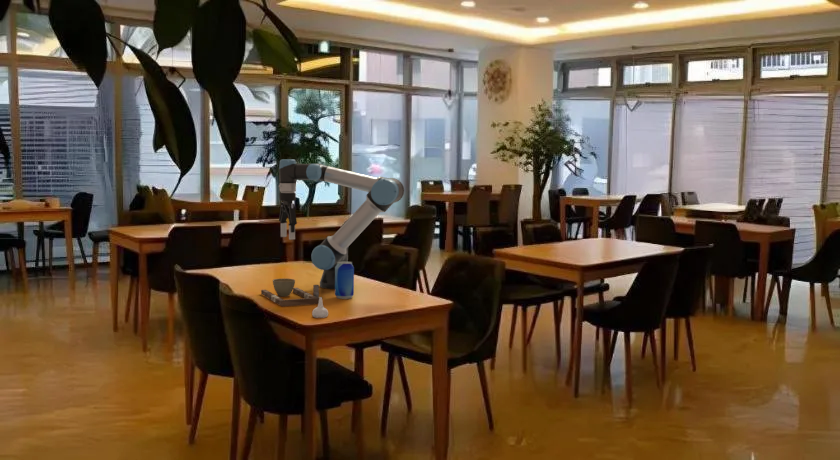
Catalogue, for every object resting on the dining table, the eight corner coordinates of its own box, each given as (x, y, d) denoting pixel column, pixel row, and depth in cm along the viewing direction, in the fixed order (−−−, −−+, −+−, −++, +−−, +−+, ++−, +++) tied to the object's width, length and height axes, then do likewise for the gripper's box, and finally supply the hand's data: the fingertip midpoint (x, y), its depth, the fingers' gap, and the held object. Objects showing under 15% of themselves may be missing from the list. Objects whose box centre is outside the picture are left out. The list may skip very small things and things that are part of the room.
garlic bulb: (319, 320, 306) (320, 300, 305) (308, 316, 310) (309, 296, 309) (331, 318, 311) (332, 298, 310) (320, 314, 315) (322, 295, 314)
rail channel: (261, 294, 357) (261, 281, 356) (304, 291, 366) (304, 278, 366) (281, 306, 329) (281, 292, 328) (328, 303, 338) (328, 289, 338)
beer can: (338, 299, 347) (339, 263, 345) (332, 296, 354) (332, 261, 353) (356, 298, 351) (356, 263, 349) (349, 295, 358) (349, 260, 357)
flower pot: (290, 298, 349) (290, 282, 348) (269, 296, 351) (269, 281, 350) (298, 294, 358) (298, 278, 358) (277, 293, 360) (277, 277, 360)
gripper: (272, 191, 377) (272, 235, 379) (287, 193, 355) (288, 240, 357) (287, 191, 380) (287, 235, 382) (303, 193, 359) (303, 240, 361)
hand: (287, 238), depth 370 cm, fingers open, 12 cm apart
